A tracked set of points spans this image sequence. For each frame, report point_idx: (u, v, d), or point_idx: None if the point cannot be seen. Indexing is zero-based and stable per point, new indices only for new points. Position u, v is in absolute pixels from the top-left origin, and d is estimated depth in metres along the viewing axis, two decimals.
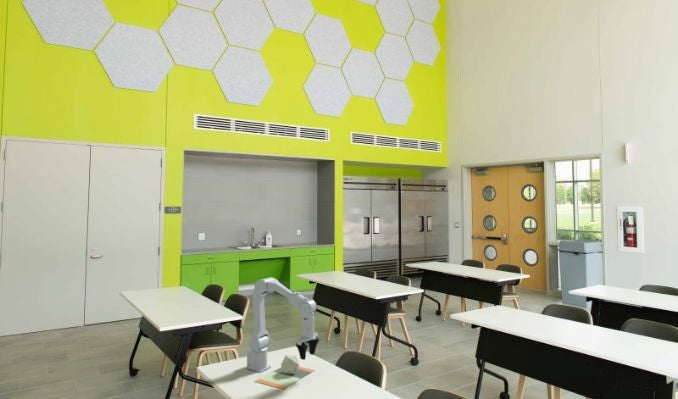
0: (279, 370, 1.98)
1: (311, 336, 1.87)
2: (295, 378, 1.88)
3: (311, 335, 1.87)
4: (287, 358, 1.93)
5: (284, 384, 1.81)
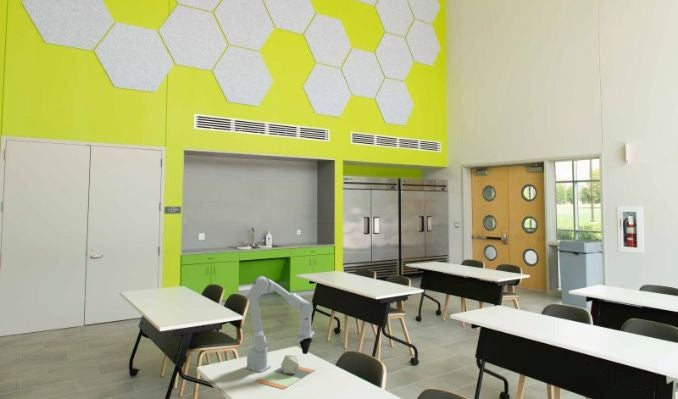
0: (279, 370, 1.98)
1: (308, 334, 2.04)
2: (295, 378, 1.88)
3: (308, 333, 2.04)
4: (287, 358, 1.93)
5: (284, 384, 1.81)
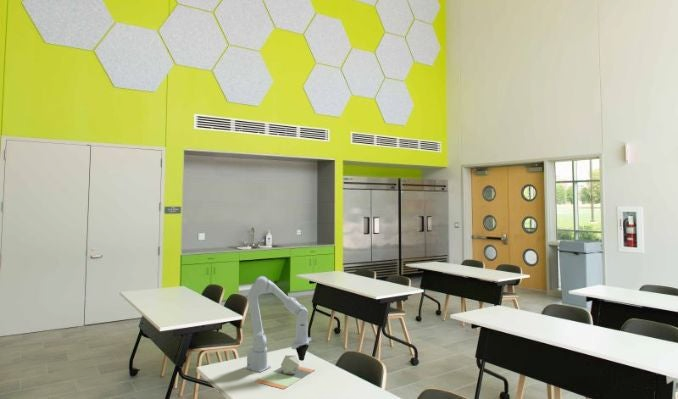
0: (279, 370, 1.98)
1: (305, 341, 2.01)
2: (295, 378, 1.88)
3: (305, 340, 2.01)
4: (287, 358, 1.93)
5: (284, 384, 1.81)
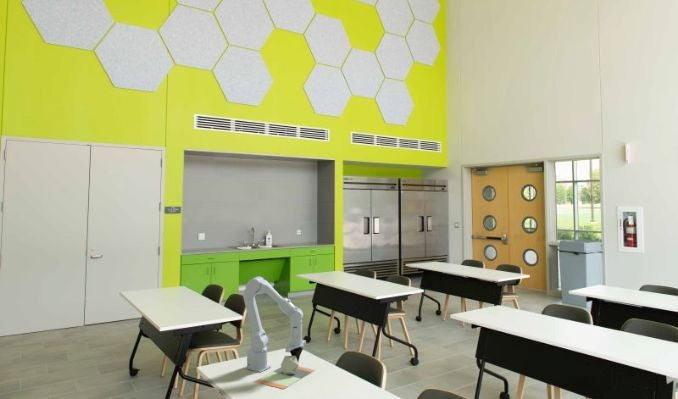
0: (279, 370, 1.98)
1: (299, 343, 1.97)
2: (295, 378, 1.88)
3: (299, 343, 1.97)
4: (287, 358, 1.93)
5: (284, 384, 1.81)
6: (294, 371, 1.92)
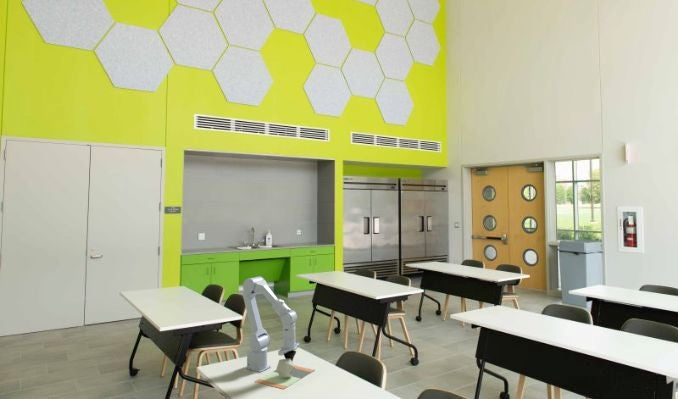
0: None
1: (292, 346, 1.92)
2: (295, 378, 1.88)
3: (292, 345, 1.92)
4: (282, 362, 1.88)
5: (284, 384, 1.81)
6: (291, 374, 1.88)
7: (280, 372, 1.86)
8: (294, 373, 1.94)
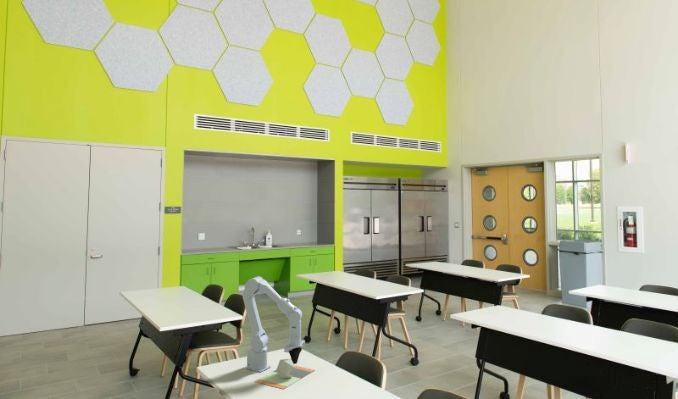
0: None
1: (298, 344, 1.96)
2: (295, 378, 1.88)
3: (298, 343, 1.96)
4: (283, 362, 1.88)
5: (284, 384, 1.81)
6: (291, 374, 1.88)
7: (280, 372, 1.86)
8: (294, 373, 1.94)
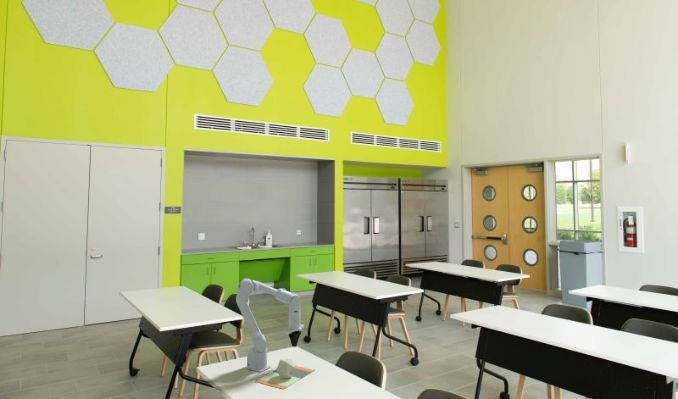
0: None
1: (297, 327, 2.04)
2: (295, 378, 1.88)
3: (297, 326, 2.04)
4: (283, 362, 1.88)
5: (284, 384, 1.81)
6: (291, 374, 1.88)
7: (280, 372, 1.86)
8: (294, 373, 1.94)
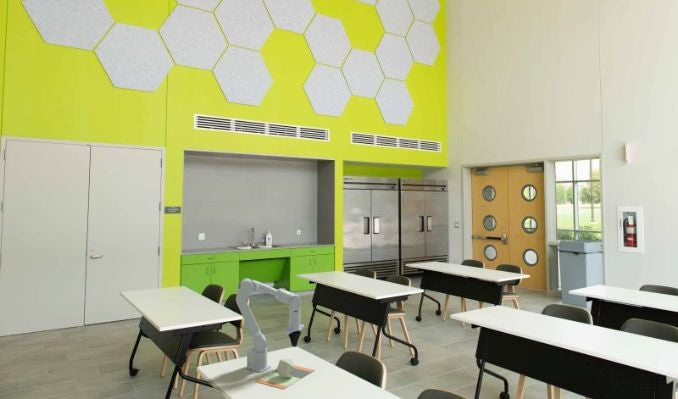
0: None
1: (297, 327, 2.04)
2: (295, 378, 1.88)
3: (297, 326, 2.04)
4: (283, 362, 1.88)
5: (284, 384, 1.81)
6: (291, 374, 1.88)
7: (280, 372, 1.86)
8: (294, 373, 1.94)
